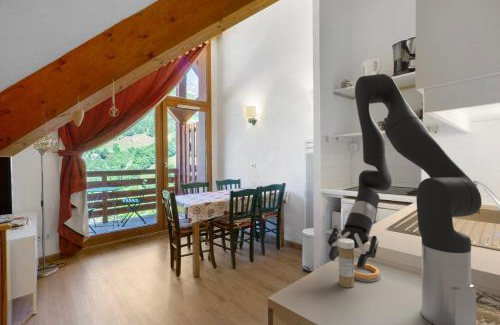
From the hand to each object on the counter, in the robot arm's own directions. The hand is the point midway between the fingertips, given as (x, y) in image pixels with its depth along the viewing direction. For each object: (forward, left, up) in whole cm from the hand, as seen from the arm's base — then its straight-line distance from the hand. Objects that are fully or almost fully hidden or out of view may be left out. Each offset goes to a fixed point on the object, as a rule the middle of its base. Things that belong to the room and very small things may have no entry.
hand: (344, 263), depth 78 cm
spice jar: (0, -1, -7) cm, 7 cm away
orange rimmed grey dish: (+4, -10, -7) cm, 13 cm away
